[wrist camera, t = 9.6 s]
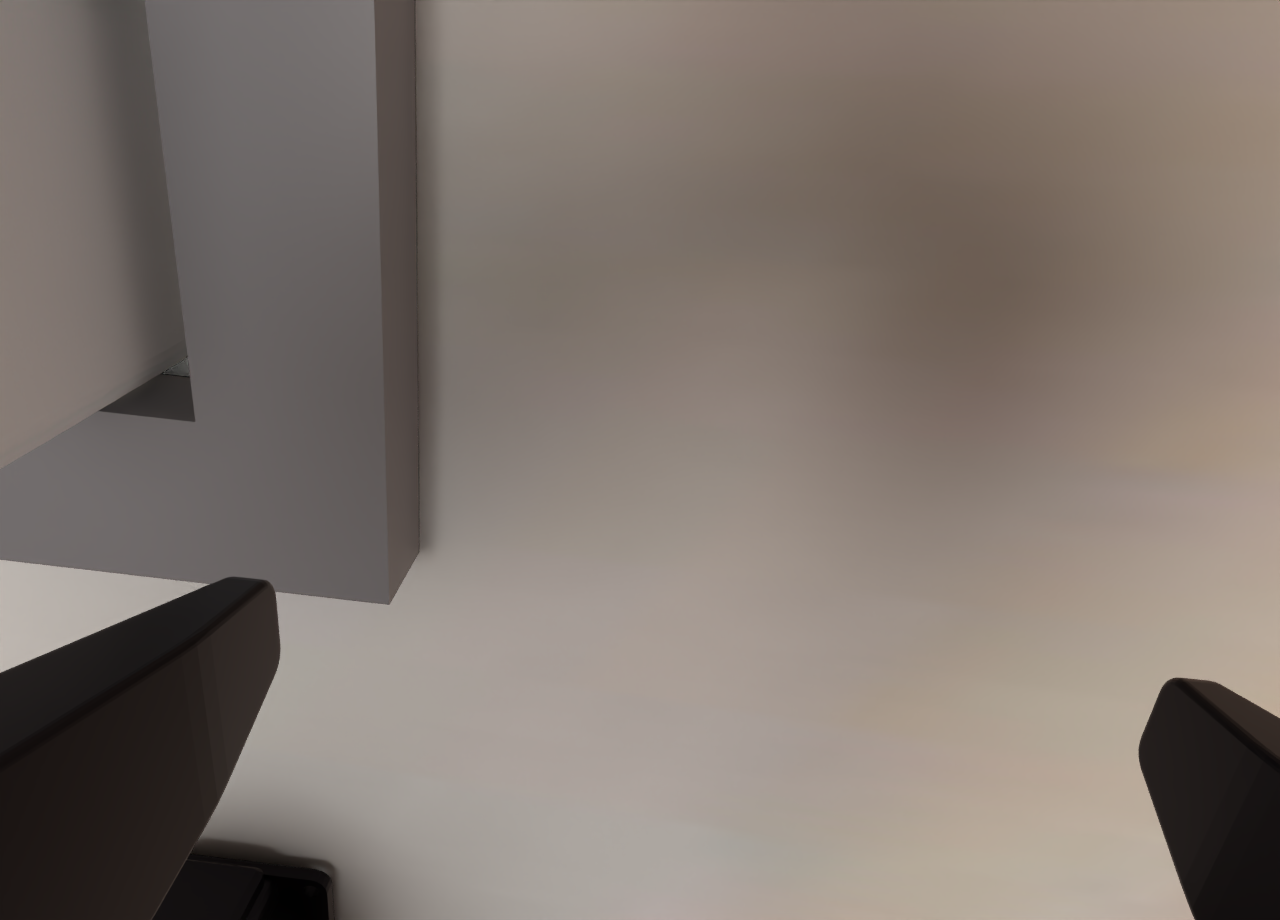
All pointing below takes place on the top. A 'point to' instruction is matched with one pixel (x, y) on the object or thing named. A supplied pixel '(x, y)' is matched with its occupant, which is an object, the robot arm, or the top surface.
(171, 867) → the robot arm
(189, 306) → the drive dock
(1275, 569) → the top surface
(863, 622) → the top surface
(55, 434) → the hard drive
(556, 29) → the top surface
